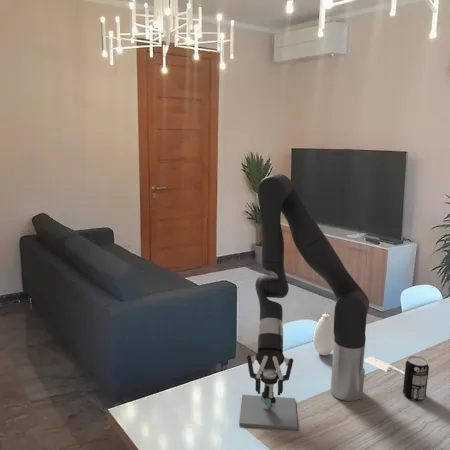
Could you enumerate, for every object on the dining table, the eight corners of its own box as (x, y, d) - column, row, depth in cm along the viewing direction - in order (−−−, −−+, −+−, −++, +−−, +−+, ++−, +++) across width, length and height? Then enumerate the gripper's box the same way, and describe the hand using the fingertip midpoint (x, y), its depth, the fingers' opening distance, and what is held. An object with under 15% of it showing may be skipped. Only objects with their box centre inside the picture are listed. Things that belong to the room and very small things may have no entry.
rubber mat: (294, 400, 141) (295, 398, 141) (297, 429, 127) (297, 427, 127) (242, 396, 142) (242, 394, 142) (239, 425, 129) (239, 423, 128)
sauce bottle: (308, 354, 170) (311, 308, 166) (319, 347, 175) (322, 302, 172) (327, 361, 165) (331, 314, 161) (338, 354, 170) (341, 307, 167)
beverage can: (408, 387, 149) (411, 353, 146) (428, 396, 144) (433, 360, 142) (398, 395, 144) (402, 360, 142) (419, 404, 140) (424, 368, 137)
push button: (282, 409, 133) (285, 377, 130) (265, 413, 130) (268, 380, 128) (271, 396, 138) (273, 366, 136) (255, 400, 136) (257, 369, 134)
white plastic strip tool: (399, 380, 154) (399, 377, 154) (362, 362, 166) (362, 359, 166) (408, 375, 157) (408, 372, 157) (371, 358, 169) (371, 355, 169)
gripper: (246, 330, 138) (243, 389, 129) (295, 333, 137) (295, 392, 128) (247, 338, 145) (244, 395, 135) (293, 341, 143) (293, 399, 134)
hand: (269, 393), depth 132 cm, fingers closed on push button, 5 cm apart
